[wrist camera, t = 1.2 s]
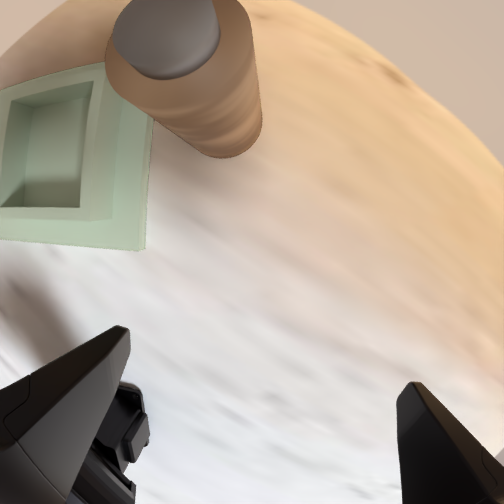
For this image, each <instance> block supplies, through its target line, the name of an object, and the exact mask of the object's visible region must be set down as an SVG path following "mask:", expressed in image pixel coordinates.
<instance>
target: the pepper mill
mask: <svg viewBox="0 0 504 504" xmlns="http://www.w3.org/2000/svg"><path fill="white" fill-rule="evenodd" d="M105 70H106V75H107V78H108V80H109V82H110V84H111V86H112V87H113V89H114V90H115V91H116V92H117V93H118V94H119V95H120V96H121V97H122V98H124V99H125V100H127V101H128V102H130V103H131V104H133V105H134V106H136V107H137V108H139V109H140V110H142V111H143V112H144V113H146V114H147V115H149V116H150V117H152V118H153V119H155V120H156V121H158V122H159V123H160V124H162V125H163V126H165V127H166V128H168V129H169V130H170V131H172V132H173V133H175V134H176V135H177V136H179V137H180V138H182V139H183V140H185V141H186V142H187V143H189V144H190V145H192V146H193V147H194V148H196V149H197V150H198V151H200V152H201V153H203V154H205V155H207V156H210V157H214V158H231V157H234V156H237V155H239V154H241V153H243V152H245V151H246V150H248V149H249V148H250V147H251V146H252V145H253V144H254V143H255V141H256V140H257V138H258V136H259V134H260V132H261V128H262V111H261V102H260V93H259V85H258V76H257V68H256V60H255V52H254V44H253V36H252V29H251V23H250V19H249V17H248V14H247V12H246V11H245V9H244V7H243V6H242V5H241V4H240V3H239V2H238V1H237V0H132V1H131V2H130V3H129V4H128V5H127V6H126V7H125V8H124V9H123V11H122V12H121V13H120V15H119V17H118V18H117V21H116V23H115V25H114V29H113V33H112V35H111V37H110V40H109V42H108V45H107V49H106V54H105Z"/></svg>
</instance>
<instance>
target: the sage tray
mask: <svg viewBox="0 0 504 504" xmlns="http://www.w3.org/2000/svg"><path fill="white" fill-rule="evenodd" d="M153 122H154V119H153V118H152V117H150V116H149V115H147V114H146V113H144V112H143V111H142V110H140V109H139V108H137V107H136V106H134V105H133V104H131V103H130V102H128V101H127V100H125V99H124V98H122V97H121V96H120V95H119V94H118V93H117V92H116V91H115V90H114V89H113V87H112V86H111V84H110V82H109V80H108V78H107V75H106V70H105V62H99V63H94V64H89V65H85V66H80V67H76V68H72V69H67V70H63V71H60V72H56V73H52V74H48V75H45V76H41V77H38V78H35V79H32V80H28V81H25V82H22V83H19V84H16V85H13V86H10V87H8V88H5V89H2V90H0V239H1V240H12V241H23V242H34V243H45V244H57V245H68V246H80V247H91V248H103V249H115V250H127V251H141V250H144V249H145V242H146V210H147V191H148V176H149V163H150V151H151V141H152V131H153Z"/></svg>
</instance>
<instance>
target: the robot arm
mask: <svg viewBox="0 0 504 504" xmlns="http://www.w3.org/2000/svg"><path fill="white" fill-rule="evenodd" d="M130 350H131V345H130V331H129V329H128V328H125V327H122V326H119V325H116V326H114V327H112V328H110V329H109V330H107V331H105V332H103V333H101V334H100V335H98V336H96V337H94V338H93V339H91V340H89V341H87V342H86V343H84V344H82V345H80V346H78V347H77V348H75V349H73V350H71V351H70V352H68V353H66V354H64V355H63V356H61V357H59V358H57V359H56V360H54V361H52V362H50V363H48V364H47V365H45V366H43V367H41V368H40V369H38V370H36V371H34V372H33V373H31V374H30V375H27V376H25V377H24V378H22V379H20V380H18V381H16V382H14V383H13V384H11V385H9V386H7V387H5V388H3V389H0V504H135V494H136V485H135V484H134V483H133V482H132V481H130V480H129V479H128V478H127V477H126V476H125V475H124V474H123V473H124V471H125V470H126V468H127V466H128V464H129V462H130V463H135V462H136V461H137V459H138V457H139V455H140V453H141V451H142V449H143V447H146V446H147V445H148V443H149V436H150V431H149V424H148V417H147V414H146V413H145V411H144V403H143V395H142V393H141V392H140V391H139V390H136V389H131V388H127V387H123V386H118V385H119V382H120V379H121V376H122V374H123V371H124V368H125V365H126V363H127V360H128V357H129V355H130ZM135 395H137V396H138V397H137V396H135ZM396 407H397V443H398V453H399V463H400V474H401V488H402V504H504V467H503V466H502V465H501V464H500V463H499V462H498V461H497V460H496V459H495V458H494V457H493V456H492V455H491V454H490V453H489V452H488V451H487V450H486V449H485V448H484V447H483V446H482V445H481V444H480V443H479V441H478V440H477V439H476V438H475V437H474V436H473V435H472V434H471V433H470V432H469V431H468V430H467V429H466V428H465V427H464V426H463V425H462V424H461V423H460V422H459V421H458V420H457V419H456V418H455V417H454V415H453V414H452V413H451V412H450V411H449V410H448V409H447V408H446V407H445V406H444V405H443V404H442V403H441V402H440V401H439V400H438V399H437V398H436V397H435V396H434V395H433V394H432V393H431V392H430V391H429V390H428V389H427V388H426V387H425V386H424V385H423V384H422V383H421V382H409V383H408V384H407V385H406V387H405V388H404V389H403V391H402V392H401V394H400V395H399V396H398V398H397V402H396Z"/></svg>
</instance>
